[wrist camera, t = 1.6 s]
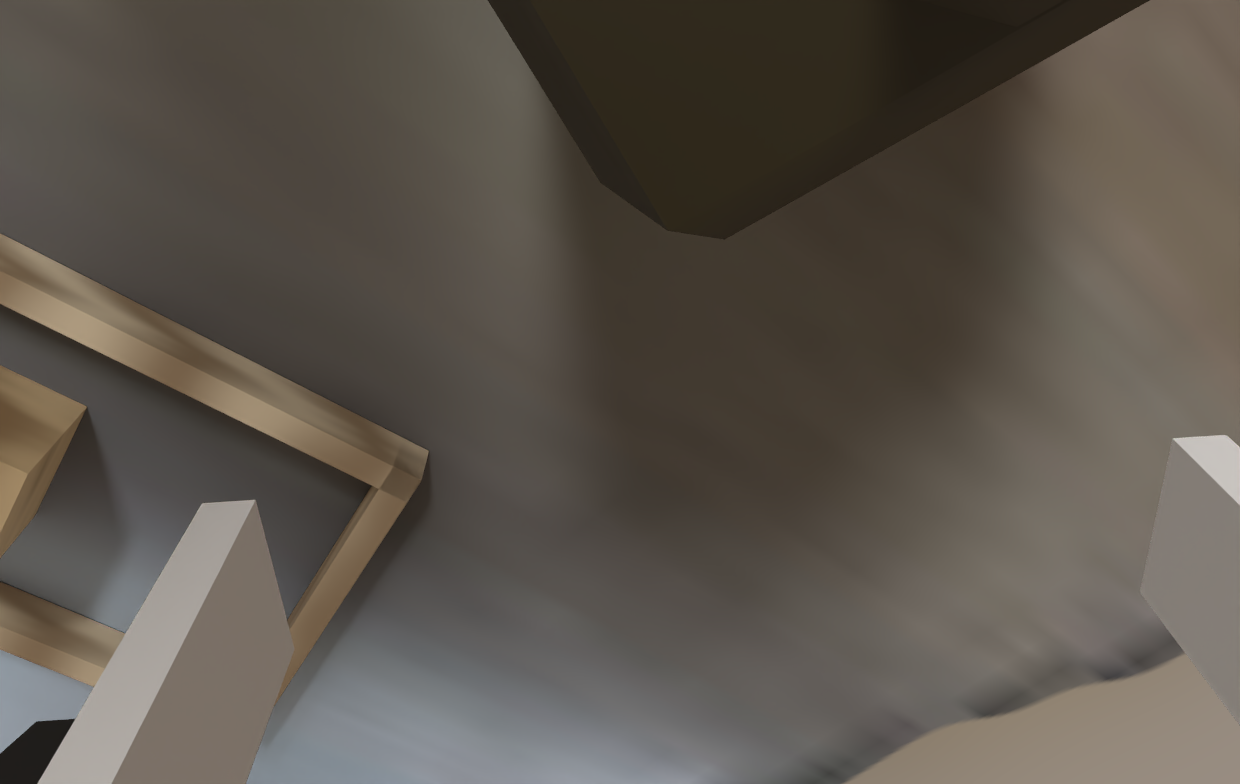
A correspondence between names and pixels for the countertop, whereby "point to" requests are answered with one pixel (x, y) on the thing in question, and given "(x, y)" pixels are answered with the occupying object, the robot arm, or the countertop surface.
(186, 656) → the robot arm
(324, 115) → the countertop surface
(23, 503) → the oak block
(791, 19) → the bottle
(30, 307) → the wooden l-shaped bracket
